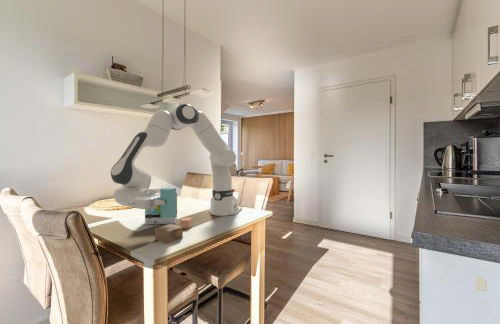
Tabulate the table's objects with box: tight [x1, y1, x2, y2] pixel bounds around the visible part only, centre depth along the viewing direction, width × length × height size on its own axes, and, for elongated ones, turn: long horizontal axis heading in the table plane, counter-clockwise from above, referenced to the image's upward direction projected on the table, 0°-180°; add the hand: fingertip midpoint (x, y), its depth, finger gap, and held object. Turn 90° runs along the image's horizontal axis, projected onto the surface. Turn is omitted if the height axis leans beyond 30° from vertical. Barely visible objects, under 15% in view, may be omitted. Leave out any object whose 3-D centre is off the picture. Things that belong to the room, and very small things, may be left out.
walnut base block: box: [154, 224, 184, 245], centre depth 105 cm, size 8×8×5 cm
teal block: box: [159, 187, 177, 218], centre depth 104 cm, size 4×4×12 cm
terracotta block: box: [179, 217, 193, 229], centre depth 121 cm, size 4×4×4 cm
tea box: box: [144, 192, 178, 226], centre depth 129 cm, size 15×10×15 cm, turn 101°
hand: (170, 201), depth 104 cm, fingers closed on teal block, 4 cm apart
